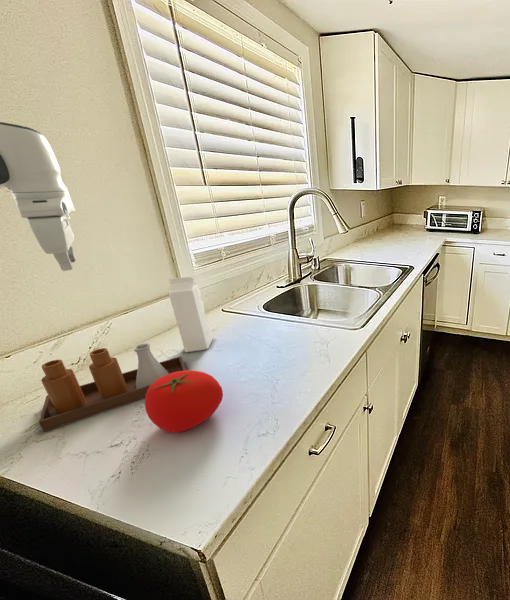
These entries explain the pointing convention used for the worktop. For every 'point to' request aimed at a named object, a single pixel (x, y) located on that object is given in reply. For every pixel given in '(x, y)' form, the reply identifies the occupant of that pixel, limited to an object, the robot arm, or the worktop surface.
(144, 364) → the flask
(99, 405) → the tray
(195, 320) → the milk
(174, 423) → the tomato
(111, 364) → the spice bottle
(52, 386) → the spice bottle
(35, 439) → the worktop surface
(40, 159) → the robot arm
